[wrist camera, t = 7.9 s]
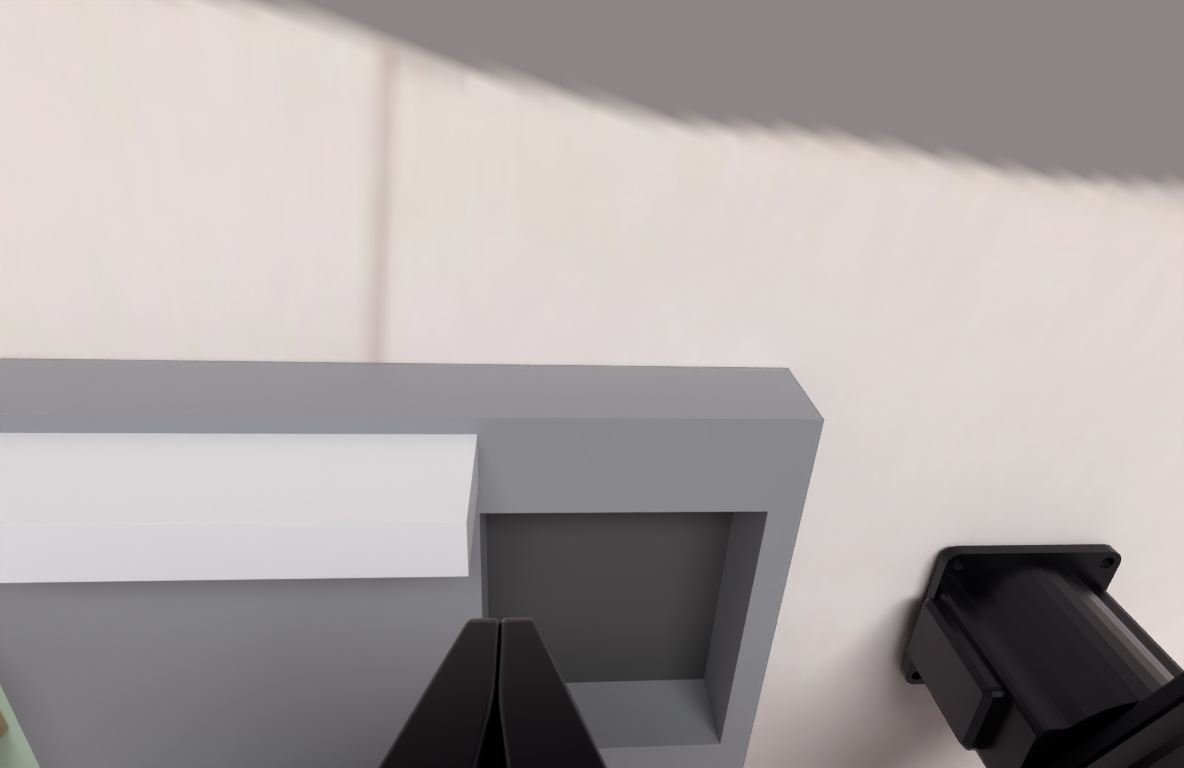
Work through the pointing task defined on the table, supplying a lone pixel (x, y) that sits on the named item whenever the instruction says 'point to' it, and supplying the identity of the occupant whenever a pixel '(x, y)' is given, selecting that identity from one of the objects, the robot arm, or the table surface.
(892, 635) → the table surface
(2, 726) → the maple block
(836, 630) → the table surface
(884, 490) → the table surface
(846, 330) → the table surface
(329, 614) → the stepped grey tray
